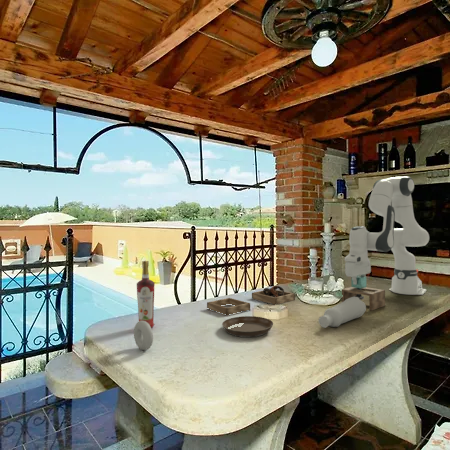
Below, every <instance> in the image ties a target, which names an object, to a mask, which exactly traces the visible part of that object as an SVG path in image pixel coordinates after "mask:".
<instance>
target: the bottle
mask: <svg viewBox="0 0 450 450" xmlns="http://www.w3.org/2000/svg"><path fill="white" fill-rule="evenodd" d="M366 310H367V306H366V303H365V302H364V301H363V300H360V299H359V298H358V297H351V298H348V299H346V300H345V301H343V302H342V301H341V302H339V303H338V304H336V305H334V306H333V307H328V308H327V309H326V310H324V314H323V315H321V316H319V318H318V324H319V325H320V327H321V328H324V329H325V328H328V327H332V328H338V327H340V325H342V324H345V323H347V322H349V321H352V320H355V319H358V318H360V317H362V316H363V315H364V313H365V312H366Z"/></svg>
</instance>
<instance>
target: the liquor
mask: <svg viewBox="0 0 450 450" xmlns="http://www.w3.org/2000/svg"><path fill="white" fill-rule="evenodd" d="M149 266H150V265H149V260H143V261H141V267H142V273H141V280H139V281H138V282H136V297H137V298H136V299H137V310H138V311H137V313H138V322H139V321H146V322H147V323H148V324H149V325H150V327H151V329H152V328H153V327H154V326H155V323H154V313H155V312H154V311H155V310H154V307H155V306H154V305H155V303H154V302H155V281H154V280H152V279H150V274H149Z"/></svg>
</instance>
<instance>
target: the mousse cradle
mask: <svg viewBox="0 0 450 450" xmlns="http://www.w3.org/2000/svg"><path fill="white" fill-rule="evenodd" d="M226 304H232V305H235V306H228V307H227V306H221V305H226ZM207 308H209V309H211V310H214V311H217V312H220V313H223V314H226V315H229V314H233V313H237V312H241V311H245V312H247V311H246V310H249V311H251V302H247V301H243V300H239V299H236V298H231V297H227V298H222V299H217V300H212V301H207V302H206V309H207ZM211 310H210V311H211ZM214 311H213V312H214ZM217 312H216V313H217ZM220 313H219V314H220ZM241 313H242V312H241ZM223 314H222V315H223ZM237 314H238V313H237ZM226 315H225V316H226ZM233 315H234V314H233ZM229 316H230V315H229Z"/></svg>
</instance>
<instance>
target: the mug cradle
mask: <svg viewBox="0 0 450 450" xmlns="http://www.w3.org/2000/svg"><path fill="white" fill-rule="evenodd" d="M275 291H276V293H277V294H278V293H282V292H283V291H281V290H280V289H277V290H275ZM266 293H268V292H267V291H266ZM295 297H296V294H295V293H293V292H288V291H284V296H280V297H275V296H267V295H265V294H264V292H263V290H259V291H253V292H251V299H252V298H253V299H252V300H255V299H256V301H260V302H263V303H267V304H271V303H272V305H275V304H276V305H280V304H284V303H288V302H291V301H295V300H296V298H295Z"/></svg>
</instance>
